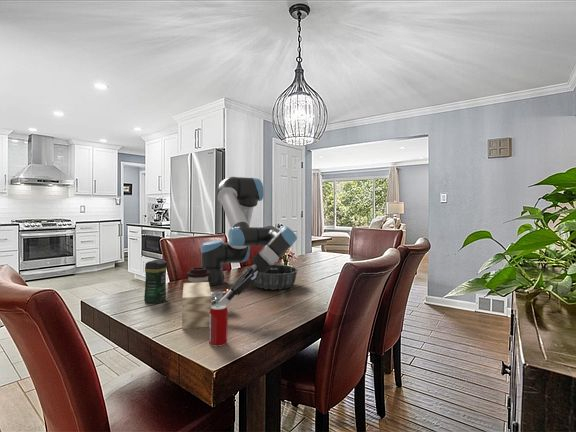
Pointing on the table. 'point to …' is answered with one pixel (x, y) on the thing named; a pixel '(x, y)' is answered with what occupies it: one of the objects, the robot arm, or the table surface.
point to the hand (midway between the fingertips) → (221, 304)
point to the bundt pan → (276, 277)
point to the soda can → (218, 325)
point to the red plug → (219, 294)
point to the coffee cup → (198, 275)
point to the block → (196, 305)
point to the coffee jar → (155, 281)
